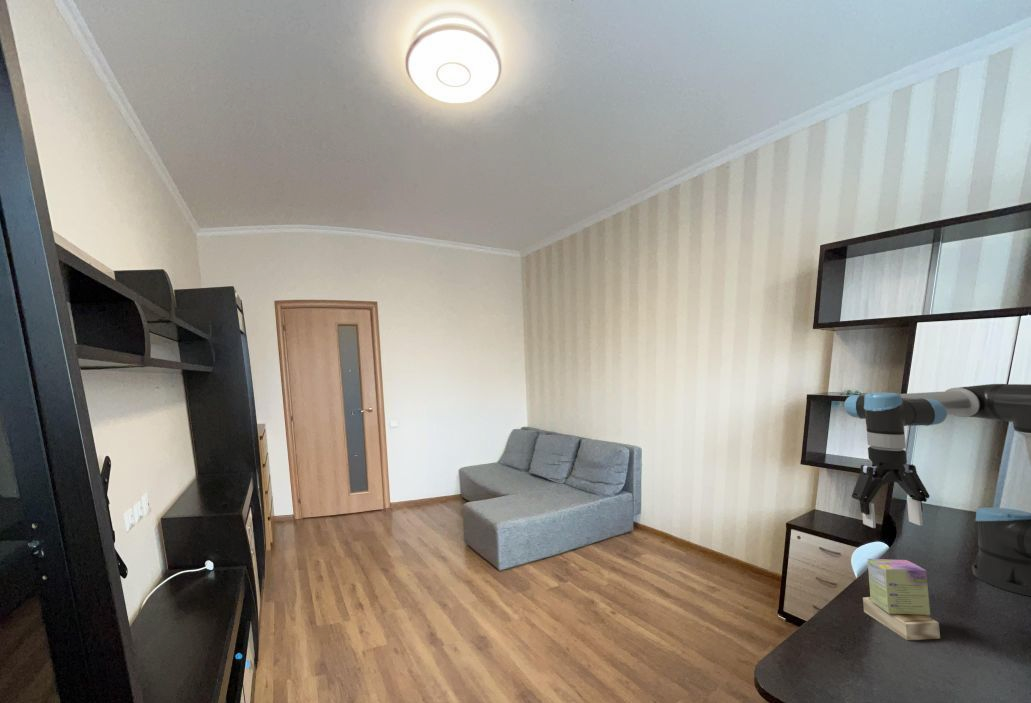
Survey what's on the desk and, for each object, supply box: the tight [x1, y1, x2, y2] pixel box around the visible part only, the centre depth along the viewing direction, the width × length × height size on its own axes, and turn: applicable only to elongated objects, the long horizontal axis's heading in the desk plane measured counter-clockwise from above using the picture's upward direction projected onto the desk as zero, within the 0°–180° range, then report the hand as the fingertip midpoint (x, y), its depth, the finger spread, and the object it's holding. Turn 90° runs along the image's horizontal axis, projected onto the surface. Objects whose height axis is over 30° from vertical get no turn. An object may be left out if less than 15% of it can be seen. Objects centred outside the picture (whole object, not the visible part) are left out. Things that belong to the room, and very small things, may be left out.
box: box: [867, 558, 931, 616], centre depth 98 cm, size 10×6×12 cm, turn 85°
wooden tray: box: [862, 596, 941, 641], centre depth 98 cm, size 9×11×4 cm
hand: (892, 524), depth 99 cm, fingers open, 13 cm apart
